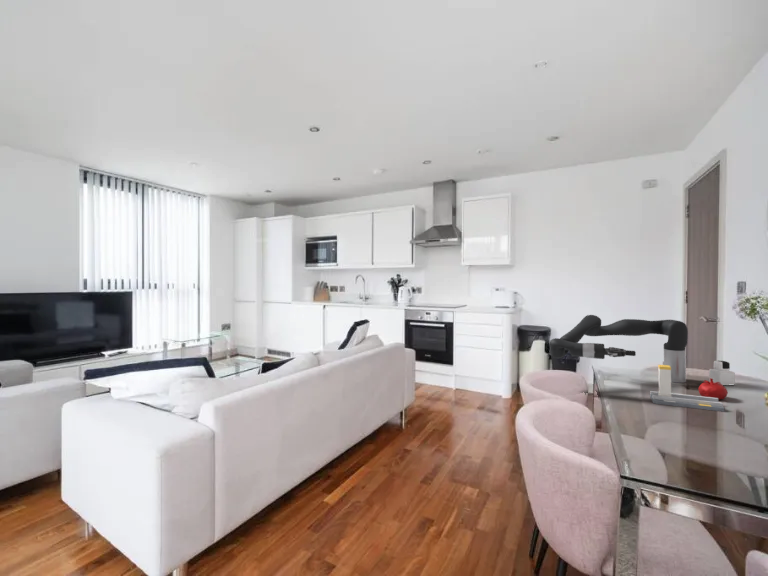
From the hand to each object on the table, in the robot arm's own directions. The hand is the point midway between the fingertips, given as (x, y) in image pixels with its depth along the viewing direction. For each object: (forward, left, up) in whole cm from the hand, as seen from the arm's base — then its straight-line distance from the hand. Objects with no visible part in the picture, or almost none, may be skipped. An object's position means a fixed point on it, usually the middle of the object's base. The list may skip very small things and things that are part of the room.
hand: (635, 353), depth 168 cm
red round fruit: (+3, +34, -22) cm, 40 cm away
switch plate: (+9, +16, -21) cm, 28 cm away
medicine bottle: (-17, +57, -22) cm, 63 cm away
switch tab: (+5, +10, -20) cm, 23 cm away
